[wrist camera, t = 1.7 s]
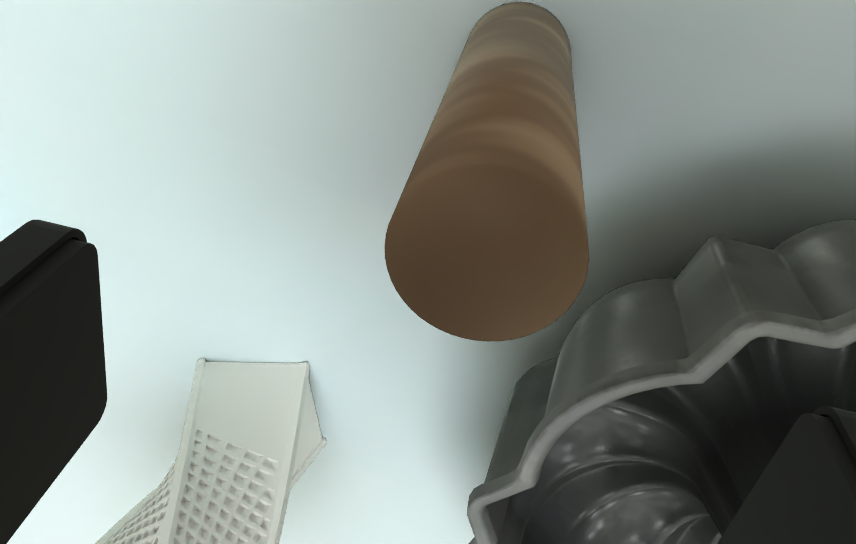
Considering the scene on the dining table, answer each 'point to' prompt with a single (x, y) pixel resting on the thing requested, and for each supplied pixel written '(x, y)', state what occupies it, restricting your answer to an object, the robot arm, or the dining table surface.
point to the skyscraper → (231, 459)
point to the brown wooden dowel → (497, 188)
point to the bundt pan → (675, 397)
